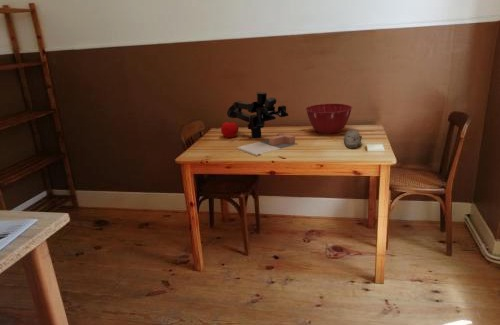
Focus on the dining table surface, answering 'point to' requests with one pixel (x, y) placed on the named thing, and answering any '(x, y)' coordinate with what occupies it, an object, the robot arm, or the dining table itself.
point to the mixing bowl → (328, 117)
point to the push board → (262, 147)
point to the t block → (282, 139)
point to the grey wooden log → (352, 138)
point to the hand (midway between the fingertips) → (281, 116)
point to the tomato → (229, 129)
